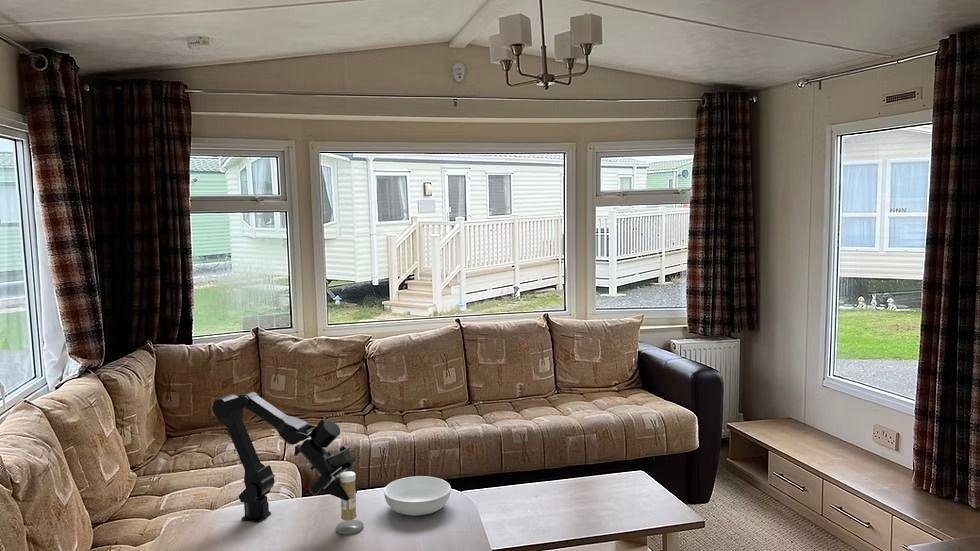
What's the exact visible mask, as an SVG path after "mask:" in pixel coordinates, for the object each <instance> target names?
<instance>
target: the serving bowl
mask: <svg viewBox="0 0 980 551" xmlns="http://www.w3.org/2000/svg"><path fill="white" fill-rule="evenodd" d="M451 491H452V487H451V485H450V483H449V482H447V481H446V480H444V479H442V478H439V477H434V476H429V475H428V476H426V475H424V476H423V475H416V476H408V477H403V478H399V479H395V480H393V481H391V482H390V483H388V484H387V485H386V486H385V487H384V489H383V494H384V498H385V501H386V504H387V505H388V507H389V508H390V509H392V510H393V511H394V512H396V513H399V514H402V515H406V516H424V515H429V514H432V513H434V512H437V511H439V510H441V509H442V508H443V507H445V505H446V504H447V503H448V501H449V499H450V496H451Z"/></svg>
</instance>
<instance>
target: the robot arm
mask: <svg viewBox="0 0 980 551" xmlns="http://www.w3.org/2000/svg"><path fill="white" fill-rule="evenodd" d="M244 409H247V410H248V411H250V412H251V413H253V414H254V415H256V416H257V417H259V418H260V419H262V421H265V422H266V423H267V424H269V425H271V427H274V429H275V430H277V434H278V435H279V437H280V438H281V439H282V440H284V441H285V442H286V443H287V444H288V445H290V446H291V445H292V446H293V445H296V446H294V454H293V455H294V457H297V456H298V455H302V456H303V457H304V458H305V459H306V460H307V462H308V463H309V464H310V465H311V467H309V469H310V470H311V471H314V470H315V471H316V473H318V475H319V477H318V478H317V479H316V480H315V481H314V482H313V483H312V484H311V485H310V486H309V492H310V493H311V494H312V495H313V496H314V497H315V496H316V495H318V494H319V492H321V493H322V494H323V493H325V494H328V495H330V496H333V497H336V498H339V499H340V500H341V499H343V500H345V501H348V500H349V499H350V498H349V496H348V495H347V493H346V492H345V491H344V489H343V488H342V487H341V482H340V474H341V473H343V472H347V471H351V472H352V469H353V465H354V464H355V463H356V462H357V460H356V459H355V458H354V456H352V453H353V449H351V447H350V446H348V444H343V445H342V446H340V447H339V451H337V452H335V453H334V452H333V451H332V450H329V451H327V450H326V449H325V448H328V447H329V446H331V444H332V443H333V442H334V441H335V440H336V439H337V438H338V437H339V436H340V435H341V429H340V427H339V425H338V424H337V423H335V422H333V421H331V420H328V419H327V418H325V417H324V418H323V419H321V420H320V421H318V424H317V425H313V424H309V423H308V422H307V421H305V420H303V419H301V418H299V417H296V416H290V415H288V414H285V413H284V412H282V411H281V410H279V409H278V407H277V408H276V407H275V406H274V405H273V404H271V403H270V402H268V401H266V400H265V399H263V398H262V397H260V396H259V394H258V393H257V392H255V391H250V392H248V393H243V394H242V393H241V394H239V395H236V394H234V393H230V394H228V395H227V394H226V395H224V396H222V397H220V398H217V399H216V400H214V401H213V403H212V406H211V411H212V413H213V415H214V417H215V418H216V420H217V421H218V422H219V423H220V424H221V425H223V426H224V427H225V428H226V429H227V432H228V434H229V436H230V439H231V442H232V443H233V446H234V448H235V451H236V453H237V456H238V457H239V460H240V463H241V464H242V465H241V466H242V467H243V469H244V477H243V483H244V486H245V488H244V489H243V491H242V492H241V493H240V494H238V499H239V501H240V503H243V506H244V508H243V509H244V516H242V517H241V519H240V520H241V521H249V522H256V523H260V522H261V521H262V520H265V519H266V518H267V517H269V516H270V515H271V514H272V511H270V507H269V506H270V505H269V501H268V496H267V495H269V494H270V493H271V490H272V489H273V487H274V485H275V483H276V481H275V480H276V479H275V477H276V475H275V474H274V472H273V471H272V470H273V469H272V467H271V465H270V464H268V465H265V464H263V463H262V462H261V461H260V458H259V455H258V453H257V451H256V449H255V447H254V444H253V442H252V439H251V438H250V435H249V432H248V430H247V428H246V425H245V423H244V421H243V417H244V416H243V415H244ZM309 438H310V439H309ZM300 442H302V443H301V444H298V443H300ZM321 490H322V491H321ZM355 491H356V494H357V493H358V490H357V488H356V487H355Z"/></svg>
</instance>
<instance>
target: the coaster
mask: <svg viewBox="0 0 980 551" xmlns="http://www.w3.org/2000/svg"><path fill="white" fill-rule="evenodd" d="M364 527H365V526H364V522H363V521H361V520H357V519H353V520H342V521H341V522H339V523H337V524H336V526H335V531H336V533H337V534H338V535H343V536H350V535H355V534H356V535H357V534H358V533H360V532H362V531H364V530H363V529H364Z"/></svg>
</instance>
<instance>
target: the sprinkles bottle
mask: <svg viewBox="0 0 980 551" xmlns="http://www.w3.org/2000/svg"><path fill="white" fill-rule="evenodd" d="M340 482H341V487H342V488H343V489H344V491H345V492H346V493H347V495H348V496H349V498H350V499H349V500H348V501H345V500H343V499H341V498H340V508H341V509H340V510H341V515H340V518H341V520H342V521H347V520H356V518H357V507H356V506H357V498H356V496H357V493H356V491H355V488H356V472H354V471H352V470H351V471H347V472H343V473H341V474H340Z"/></svg>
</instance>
